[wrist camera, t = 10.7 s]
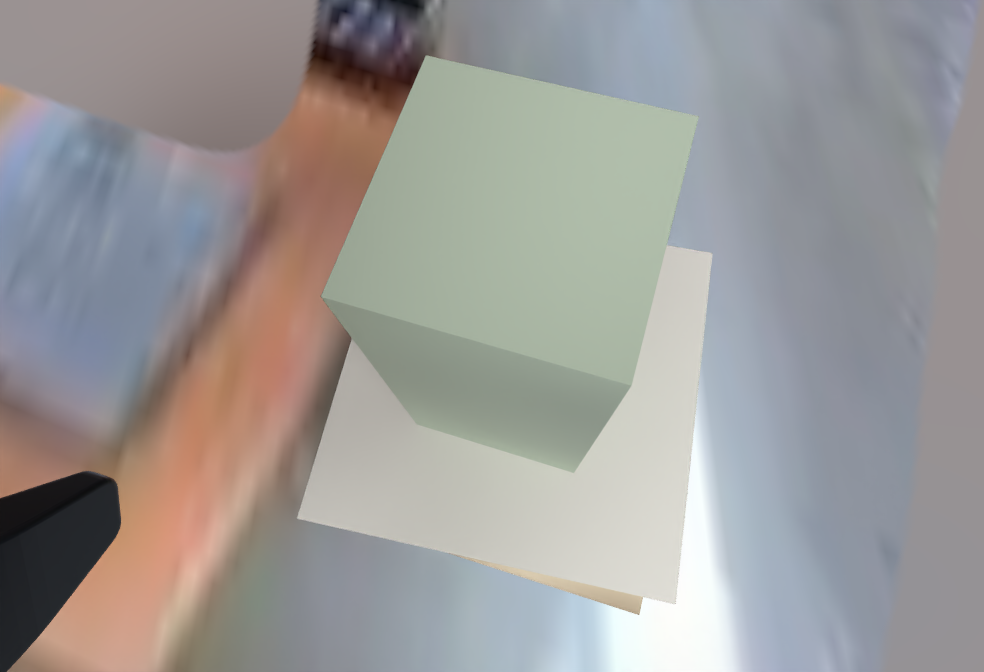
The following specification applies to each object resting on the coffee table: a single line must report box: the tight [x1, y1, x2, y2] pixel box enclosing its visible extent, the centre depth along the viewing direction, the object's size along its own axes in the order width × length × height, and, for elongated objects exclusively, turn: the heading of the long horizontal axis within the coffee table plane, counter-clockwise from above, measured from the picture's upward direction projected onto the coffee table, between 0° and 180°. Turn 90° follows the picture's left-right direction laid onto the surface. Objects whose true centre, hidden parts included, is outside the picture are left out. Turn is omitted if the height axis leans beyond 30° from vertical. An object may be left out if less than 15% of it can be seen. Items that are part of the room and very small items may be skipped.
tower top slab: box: [297, 245, 712, 604], centre depth 19 cm, size 10×10×2 cm
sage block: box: [321, 56, 699, 473], centre depth 14 cm, size 4×4×9 cm
